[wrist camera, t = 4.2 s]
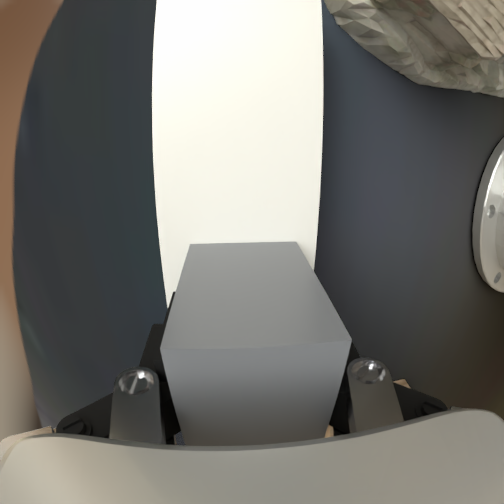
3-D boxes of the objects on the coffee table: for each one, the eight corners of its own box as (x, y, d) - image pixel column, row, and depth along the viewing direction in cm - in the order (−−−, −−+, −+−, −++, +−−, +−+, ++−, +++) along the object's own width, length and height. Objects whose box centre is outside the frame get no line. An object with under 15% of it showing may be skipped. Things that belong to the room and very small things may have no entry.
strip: (300, 19, 11) (323, -12, 8) (285, 368, 19) (296, 414, 15) (172, 19, 11) (155, -14, 7) (192, 372, 18) (187, 419, 15)
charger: (284, 222, 14) (352, 339, 6) (279, 330, 16) (313, 468, 8) (196, 224, 14) (159, 348, 6) (204, 332, 16) (195, 475, 8)
